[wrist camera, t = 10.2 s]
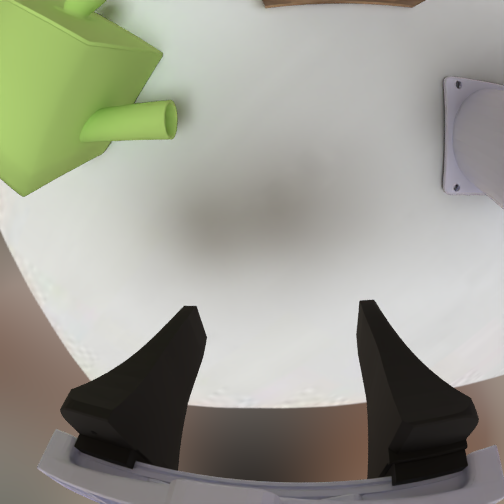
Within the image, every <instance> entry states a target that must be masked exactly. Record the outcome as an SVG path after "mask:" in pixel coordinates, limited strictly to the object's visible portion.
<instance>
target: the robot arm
mask: <svg viewBox="0 0 504 504" xmlns="http://www.w3.org/2000/svg"><path fill="white" fill-rule="evenodd" d="M457 81H458V82H459V84H460V86H459V88H457V87H456V82H457ZM444 99H445V158H444V176H443V190H444V191H445V192H446V193H447V194H450V195H487V196H489V197H490V198H491V199H492V200H494V201H495V202H496V203H497V204H498V205H499V206H501V207H502V208H503V209H504V85H500V84H495V83H490V82H485V81H479V80H473V79H467V78H460V77H453V76H447V77H446V78H445V79H444ZM456 184H458V187H457V188H456V189H455V190H454V186H455V185H456ZM356 335H357V347H358V356H359V362H360V367H361V372H362V377H363V383H364V388H365V394H366V400H367V412H368V478H367V479H366V480H355V481H342V482H318V483H285V482H262V481H261V482H260V481H247V480H236V479H228V478H219V477H212V476H205V475H198V474H193V473H187V472H182V471H178V464H179V452H180V445H181V438H182V431H183V425H184V419H185V415H186V409H187V405H188V401H189V398H190V394H191V391H192V388H193V385H194V383H195V380H196V377H197V374H198V371H199V368H200V365H201V362H202V359H203V355H204V351H205V345H206V340H207V336H206V333H205V330H204V327H203V324H202V321H201V318H200V315H199V312H198V309H197V306H184V307H183V308H182V309H181V310H180V311H179V312H178V313H177V314H176V315H175V316H174V317H173V318H172V319H171V320H170V321H169V322H168V323H167V324H166V325H165V326H164V327H163V328H162V329H161V330H160V331H159V332H158V333H157V334H156V335H155V336H154V337H153V338H152V339H151V340H150V341H149V342H148V343H147V344H146V345H144V346H143V347H142V348H141V349H140V350H139V351H138V352H136V353H135V354H134V355H133V356H131V357H130V358H129V359H127V360H126V361H125V362H123V363H122V364H120V365H118V366H117V367H115V368H114V369H112V370H111V371H109V372H108V373H106V374H104V375H102V376H100V377H98V378H97V379H95V380H93V381H90V382H88V383H86V384H84V385H81V386H79V387H76V388H74V389H71V391H70V393H69V394H68V396H67V398H66V400H65V402H64V403H63V405H62V407H61V409H60V411H61V414H62V416H63V417H64V418H65V420H66V421H67V422H68V423H69V424H70V425H71V426H72V427H73V428H74V429H75V430H76V431H77V432H78V433H79V436H78V438H76V437H74V436H72V435H70V434H68V433H65V432H63V431H60V430H57V429H56V430H55V431H54V433H53V435H52V437H51V439H50V441H49V443H48V445H47V447H46V450H45V451H44V454H43V455H42V458H41V460H40V462H39V464H38V466H37V468H38V469H39V470H40V471H41V472H43V473H44V474H46V475H47V476H49V477H50V478H52V479H53V480H55V481H56V482H58V483H59V484H61V485H63V486H64V487H66V488H67V489H69V490H71V491H73V492H75V493H78V494H80V495H82V496H84V497H86V498H89V499H91V500H93V501H95V502H98V503H100V504H496V503H497V502H499V501H501V500H502V499H504V477H503V472H502V467H501V462H500V458H499V453H498V449H497V446H496V445H494V446H491V447H487V448H484V449H481V450H478V451H475V452H472V453H470V454H468V455H467V456H466V453H465V449H466V448H467V441H466V438H467V437H468V436H469V435H470V433H471V432H472V431H473V430H474V429H475V427H476V426H477V424H478V420H479V418H478V415H477V412H476V409H475V406H474V404H473V402H472V400H471V398H470V397H468V396H466V395H465V394H463V393H461V392H460V391H458V390H456V389H455V388H453V387H452V386H450V385H449V384H448V383H446V382H445V381H443V380H442V379H441V378H440V377H438V376H437V375H436V374H435V373H433V372H432V371H431V370H430V369H429V368H428V367H427V366H426V365H424V364H423V363H422V362H421V361H420V360H419V359H418V358H417V357H416V356H415V355H414V353H413V352H412V351H411V350H410V349H409V348H408V347H407V346H406V344H405V343H404V342H403V341H402V339H401V338H400V337H399V336H398V334H397V333H396V332H395V330H394V329H393V328H392V326H391V325H390V324H389V322H388V321H387V319H386V318H385V316H384V315H383V313H382V312H381V310H380V308H379V307H378V305H377V304H376V302H375V301H374V300H363V301H360V302H359V313H358V324H357V334H356Z"/></svg>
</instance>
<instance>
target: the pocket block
mask: <svg viewBox="0 0 504 504" xmlns="http://www.w3.org/2000/svg"><path fill="white" fill-rule="evenodd" d="M262 1H263V3H264V5H265V7H266V8H271V7H280V6H290V5H303V4H325V3H358V4H380V5H393V6H403V7H414V6H416V5H418V4H420V3H421V2H423V1H425V0H262Z"/></svg>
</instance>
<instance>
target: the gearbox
mask: <svg viewBox="0 0 504 504" xmlns="http://www.w3.org/2000/svg"><path fill="white" fill-rule="evenodd" d="M105 1H106V0H0V179H2V180H3V181H4V182H5V183H6V184H7V185H8V186H9V187H11V188H12V189H13V190H14V191H16V192H17V193H18V194H19V195H21V196H23V197H25V196H27V195H29V194H30V193H32V192H34V191H35V190H37V189H39V188H41V187H42V186H44V185H46V184H48V183H49V182H51V181H53V180H55V179H56V178H58V177H60V176H62V175H64V174H65V173H67V172H69V171H71V170H73V169H75V168H76V167H78V166H80V165H82V164H84V163H86V162H88V161H90V160H91V159H93V158H95V157H97V156H99V155H101V154H102V153H104V151H105V150H106V148H107V147H108V145H109V144H110V142H111V141H122V140H157V139H173V138H174V137H175V134H176V131H177V122H178V118H177V110H176V106H175V103H174V102H173V101H172V100H166V101H155V102H145V103H136V104H134V102H135V100H136V99H137V97H138V95H139V94H140V92H141V90H142V89H143V87H144V85H145V84H146V82H147V80H148V79H149V77H150V75H151V74H152V72H153V70H154V69H155V67H156V66H157V64H158V62H159V61H160V59H161V58H162V54H163V53H162V52H160V51H159V50H157V49H156V48H154V47H153V46H151V45H150V44H148V43H146V42H145V41H143V40H142V39H140V38H138V37H137V36H135V35H134V34H132V33H130V32H129V31H127V30H125V29H123V28H122V27H120V26H118V25H117V24H115V23H113V22H111V21H110V20H108V19H106V18H104V17H102V16H100V15H99V14H97V13H95V12H94V11H95V10H96V9H97V8H99V7H100V6H101V5H102V4H103V3H104V2H105Z"/></svg>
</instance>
